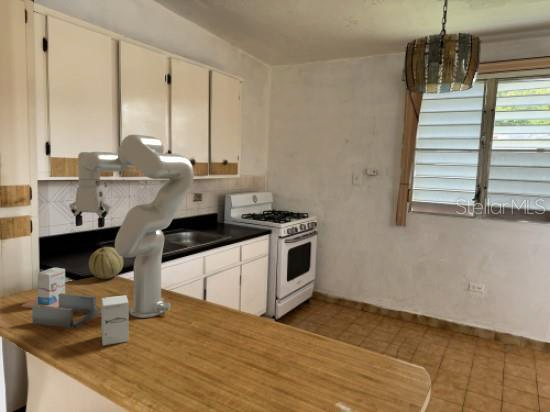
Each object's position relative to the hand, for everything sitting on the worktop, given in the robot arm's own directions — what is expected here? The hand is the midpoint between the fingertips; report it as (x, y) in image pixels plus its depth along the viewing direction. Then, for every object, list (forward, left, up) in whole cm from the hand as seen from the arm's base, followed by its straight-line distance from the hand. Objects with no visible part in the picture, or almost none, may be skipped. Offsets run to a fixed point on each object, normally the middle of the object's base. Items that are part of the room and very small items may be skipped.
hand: (90, 226), depth 147 cm
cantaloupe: (+8, -22, -28) cm, 37 cm away
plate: (+9, +11, -28) cm, 32 cm away
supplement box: (-31, +32, -29) cm, 53 cm away
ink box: (+8, +11, -28) cm, 31 cm away
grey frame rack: (-6, +22, -28) cm, 36 cm away
